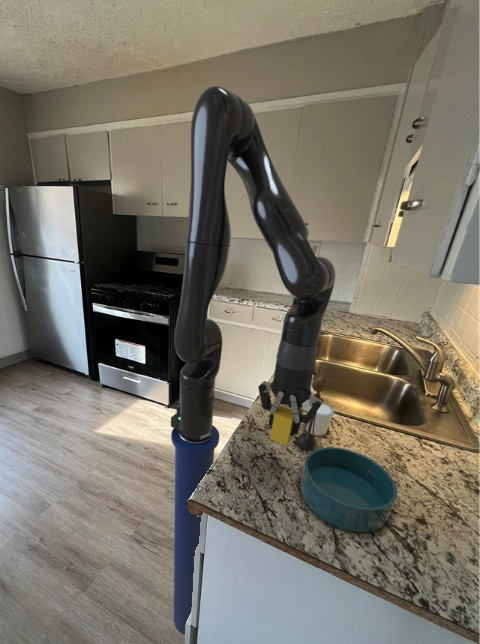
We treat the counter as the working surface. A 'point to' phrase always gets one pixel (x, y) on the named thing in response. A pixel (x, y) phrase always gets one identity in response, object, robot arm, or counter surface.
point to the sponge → (282, 426)
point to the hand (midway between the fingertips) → (283, 430)
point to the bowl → (347, 489)
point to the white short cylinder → (321, 419)
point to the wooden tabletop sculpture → (307, 439)
